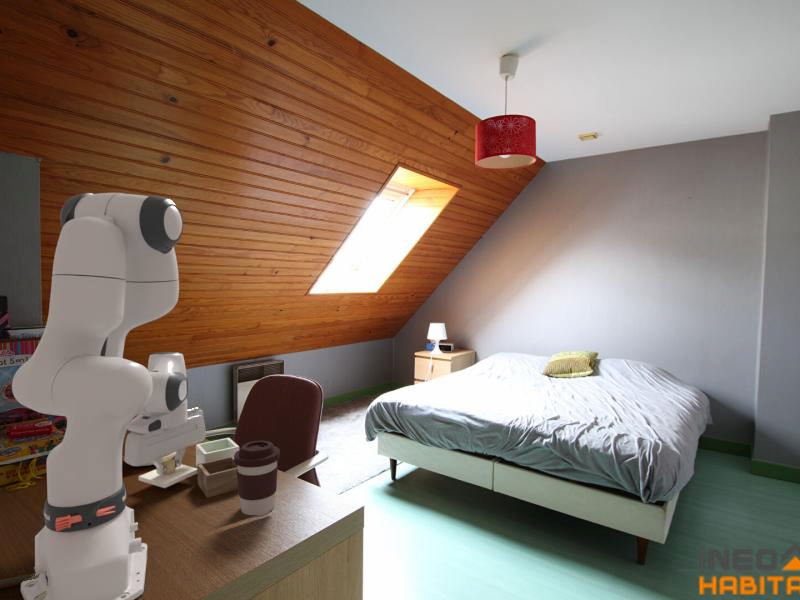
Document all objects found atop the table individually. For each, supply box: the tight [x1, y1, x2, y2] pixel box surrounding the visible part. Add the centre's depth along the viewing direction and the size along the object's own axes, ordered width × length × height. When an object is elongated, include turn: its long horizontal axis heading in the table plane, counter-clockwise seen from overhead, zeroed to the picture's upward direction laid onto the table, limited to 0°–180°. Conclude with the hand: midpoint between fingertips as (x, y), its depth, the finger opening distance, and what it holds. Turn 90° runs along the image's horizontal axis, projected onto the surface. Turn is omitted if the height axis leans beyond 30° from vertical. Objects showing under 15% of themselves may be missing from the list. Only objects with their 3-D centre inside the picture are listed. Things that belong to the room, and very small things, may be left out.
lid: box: [138, 458, 198, 489], centre depth 113 cm, size 10×10×5 cm
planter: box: [195, 437, 240, 468], centre depth 124 cm, size 9×9×7 cm
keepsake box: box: [196, 456, 238, 499], centre depth 113 cm, size 9×9×6 cm
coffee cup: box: [234, 440, 281, 518], centre depth 102 cm, size 10×10×15 cm
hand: (169, 470), depth 113 cm, fingers closed on lid, 3 cm apart
